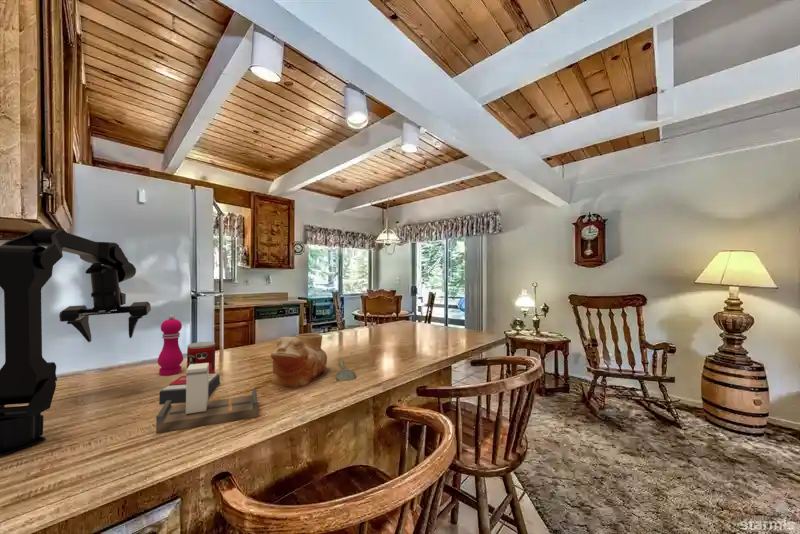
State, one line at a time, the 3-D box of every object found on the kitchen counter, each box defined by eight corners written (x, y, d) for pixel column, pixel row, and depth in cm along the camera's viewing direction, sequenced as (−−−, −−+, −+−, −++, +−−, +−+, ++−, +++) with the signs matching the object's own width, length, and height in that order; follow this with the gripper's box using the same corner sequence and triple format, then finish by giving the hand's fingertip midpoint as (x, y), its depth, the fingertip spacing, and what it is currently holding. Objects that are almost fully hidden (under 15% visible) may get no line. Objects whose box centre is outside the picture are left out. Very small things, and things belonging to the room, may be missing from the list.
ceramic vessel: (256, 389, 98) (257, 339, 98) (298, 365, 124) (299, 325, 124) (299, 393, 96) (300, 341, 96) (333, 367, 121) (334, 327, 122)
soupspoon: (335, 385, 106) (356, 384, 107) (336, 374, 106) (357, 374, 107) (332, 364, 127) (350, 364, 129) (333, 355, 127) (350, 355, 129)
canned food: (180, 379, 106) (181, 345, 106) (202, 372, 114) (203, 340, 114) (199, 382, 104) (200, 347, 104) (220, 374, 112) (220, 342, 112)
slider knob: (185, 414, 75) (186, 370, 75) (188, 405, 80) (189, 364, 80) (206, 411, 77) (206, 368, 77) (208, 403, 82) (209, 362, 82)
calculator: (220, 372, 104) (206, 385, 90) (219, 386, 104) (205, 401, 89) (180, 374, 101) (159, 388, 87) (179, 389, 101) (158, 405, 86)
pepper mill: (169, 376, 109) (171, 316, 110) (151, 375, 111) (153, 315, 111) (188, 370, 116) (189, 313, 117) (170, 369, 118) (172, 313, 118)
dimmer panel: (156, 433, 71) (156, 416, 71) (166, 415, 80) (166, 400, 80) (257, 416, 79) (257, 402, 80) (256, 402, 88) (256, 388, 89)
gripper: (152, 279, 104) (156, 326, 106) (73, 282, 95) (79, 333, 98) (144, 287, 94) (148, 339, 97) (55, 291, 86) (62, 348, 88)
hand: (110, 339), depth 95 cm, fingers open, 9 cm apart
